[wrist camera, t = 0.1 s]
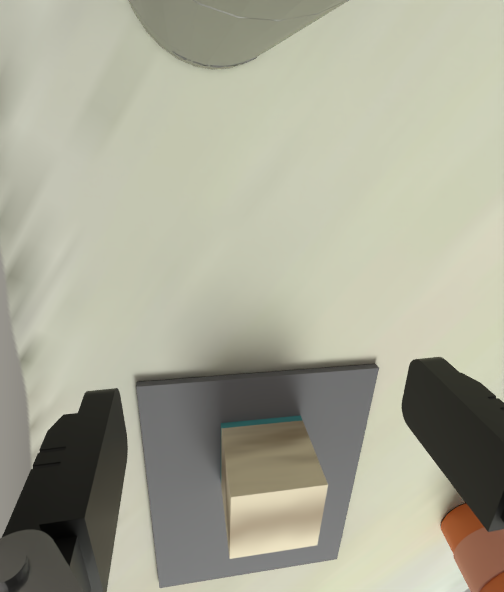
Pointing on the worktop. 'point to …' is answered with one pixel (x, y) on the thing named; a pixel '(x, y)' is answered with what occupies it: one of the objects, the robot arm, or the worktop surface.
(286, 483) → the birch cube
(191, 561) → the rubber mat
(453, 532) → the cup with straw
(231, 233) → the worktop surface
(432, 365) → the robot arm
